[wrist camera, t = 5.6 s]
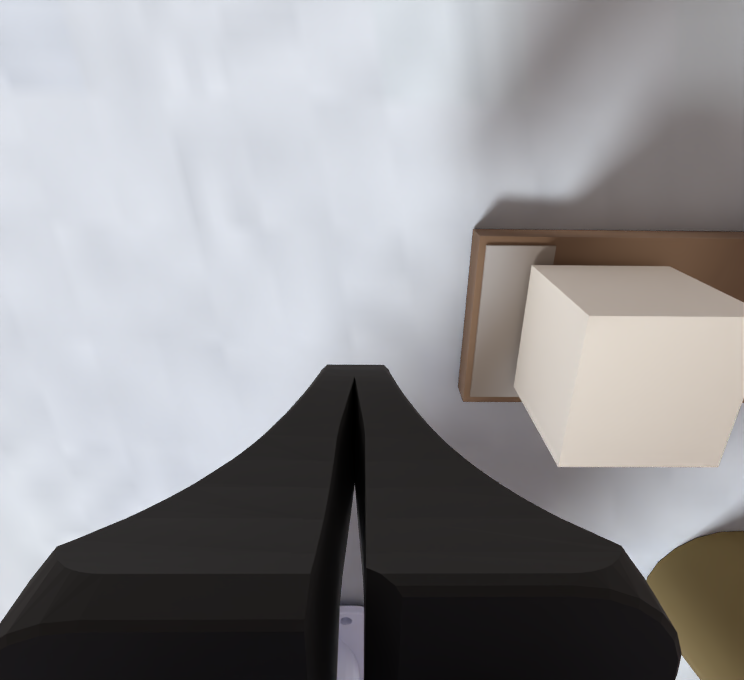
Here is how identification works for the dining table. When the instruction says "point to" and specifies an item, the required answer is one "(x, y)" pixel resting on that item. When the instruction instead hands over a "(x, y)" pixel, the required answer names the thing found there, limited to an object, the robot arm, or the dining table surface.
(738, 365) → the cream cube block
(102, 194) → the dining table surface
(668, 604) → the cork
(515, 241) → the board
